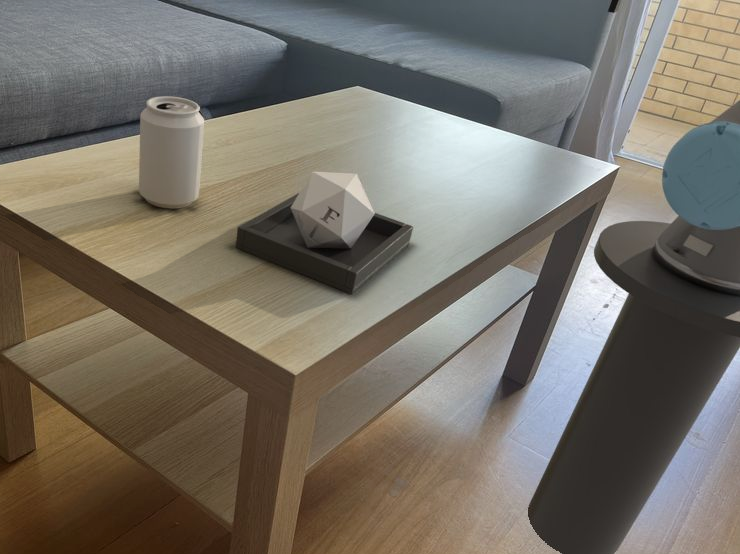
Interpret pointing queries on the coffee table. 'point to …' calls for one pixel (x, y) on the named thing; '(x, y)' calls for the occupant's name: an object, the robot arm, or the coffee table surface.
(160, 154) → the can
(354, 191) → the die
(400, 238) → the dark grey shallow tray
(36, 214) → the coffee table surface
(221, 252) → the coffee table surface
